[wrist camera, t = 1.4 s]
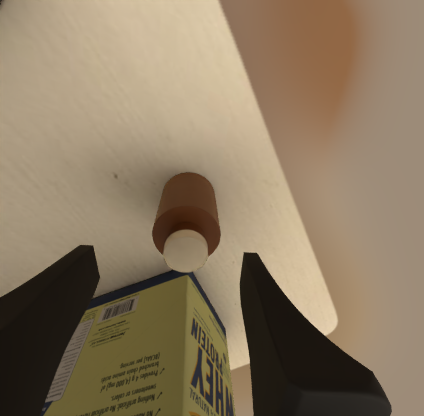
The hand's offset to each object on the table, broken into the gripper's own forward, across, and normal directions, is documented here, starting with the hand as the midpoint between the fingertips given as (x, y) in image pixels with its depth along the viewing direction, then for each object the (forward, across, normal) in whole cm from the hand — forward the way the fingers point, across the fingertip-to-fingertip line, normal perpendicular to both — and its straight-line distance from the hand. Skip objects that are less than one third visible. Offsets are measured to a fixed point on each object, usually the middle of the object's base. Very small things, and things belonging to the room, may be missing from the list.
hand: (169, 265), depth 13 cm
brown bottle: (+10, 0, +2) cm, 10 cm away
